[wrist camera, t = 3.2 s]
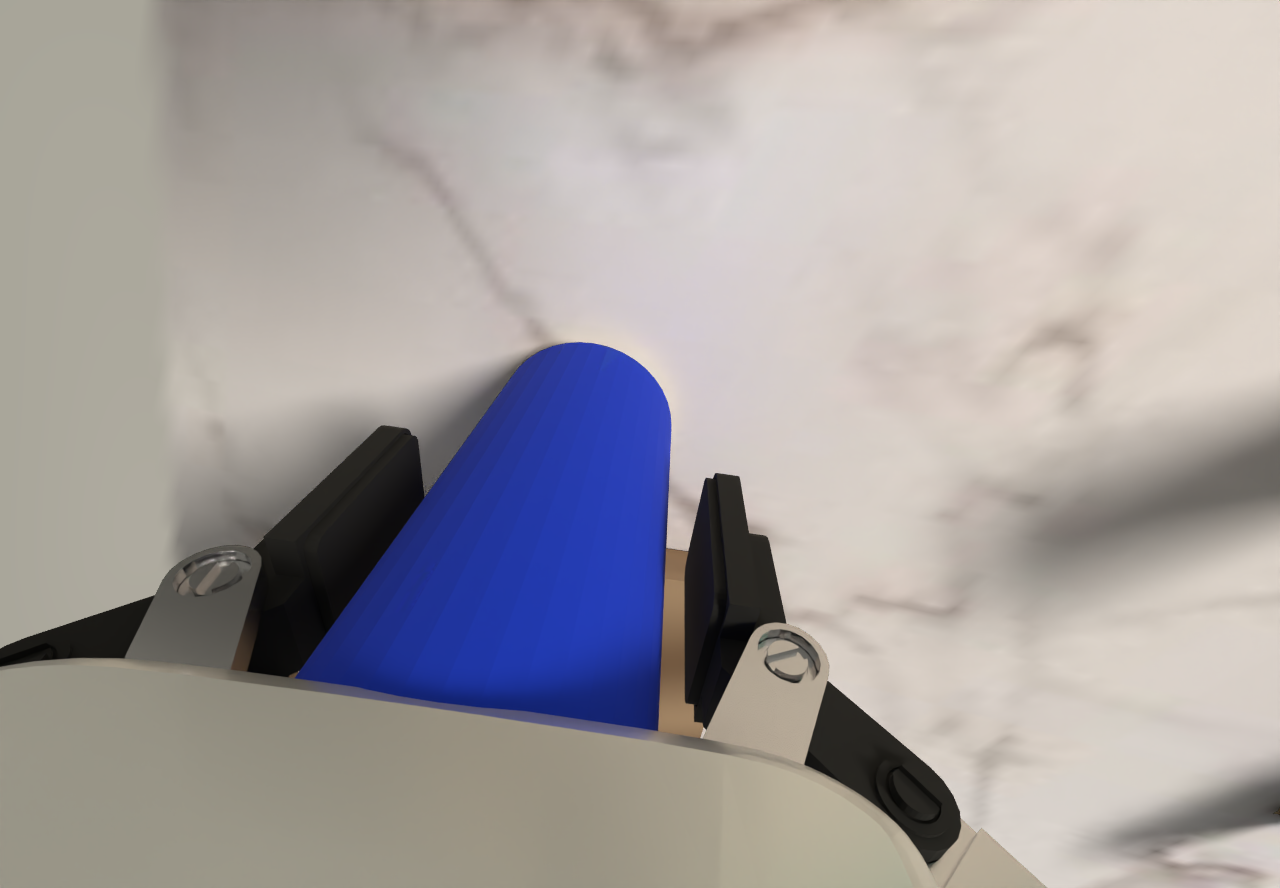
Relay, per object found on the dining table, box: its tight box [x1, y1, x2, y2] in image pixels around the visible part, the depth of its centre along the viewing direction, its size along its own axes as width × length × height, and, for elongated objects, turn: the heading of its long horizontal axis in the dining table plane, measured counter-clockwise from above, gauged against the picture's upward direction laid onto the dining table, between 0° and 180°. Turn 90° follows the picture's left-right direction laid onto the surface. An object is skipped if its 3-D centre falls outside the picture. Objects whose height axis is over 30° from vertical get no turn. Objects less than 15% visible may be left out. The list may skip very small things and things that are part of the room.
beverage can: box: [295, 342, 671, 731], centre depth 10 cm, size 5×5×15 cm
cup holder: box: [658, 549, 703, 738], centre depth 22 cm, size 20×14×6 cm
